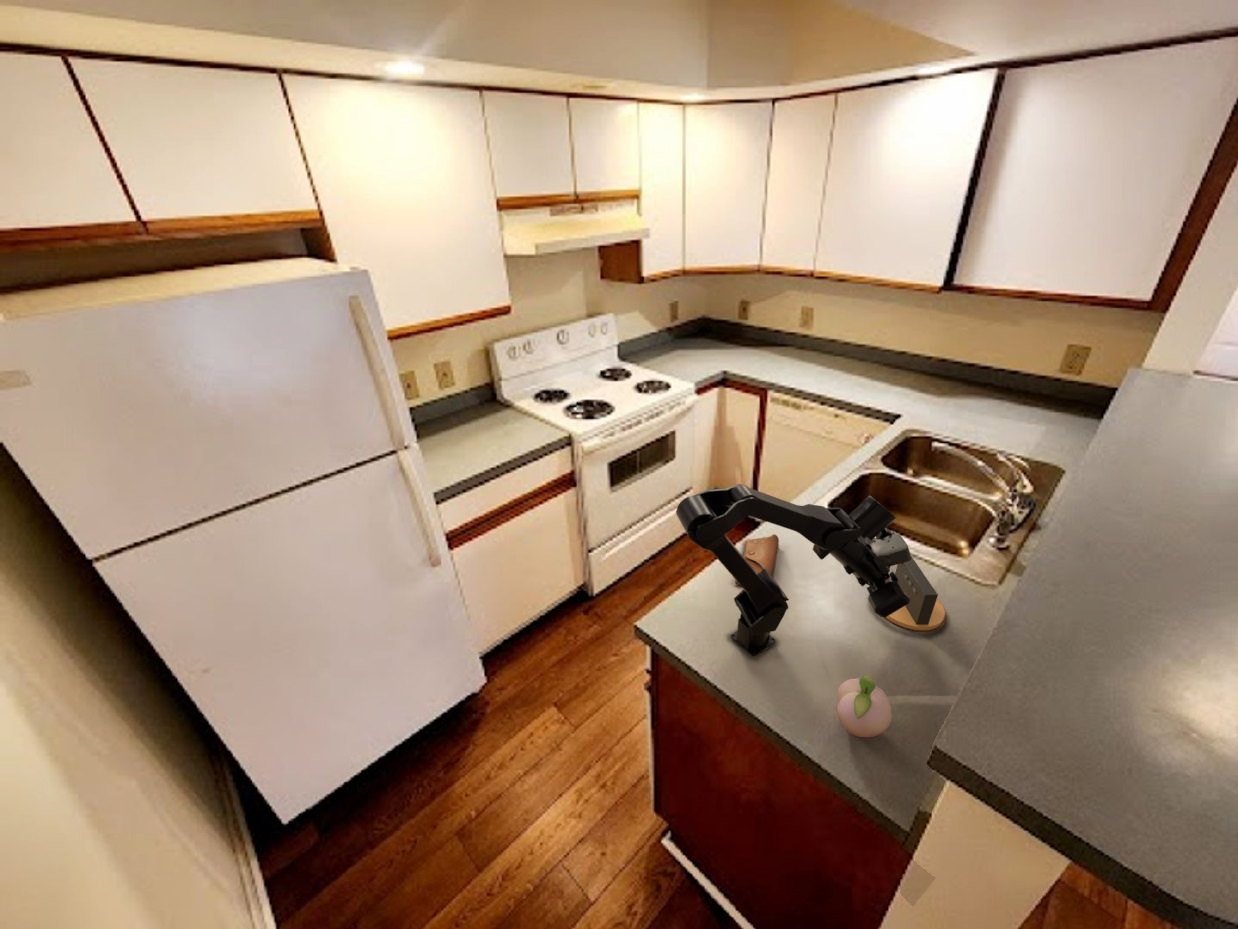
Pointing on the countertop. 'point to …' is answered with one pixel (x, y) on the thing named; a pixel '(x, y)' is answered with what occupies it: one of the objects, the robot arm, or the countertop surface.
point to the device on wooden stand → (917, 600)
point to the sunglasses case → (762, 553)
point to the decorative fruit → (863, 707)
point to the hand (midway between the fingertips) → (898, 595)
